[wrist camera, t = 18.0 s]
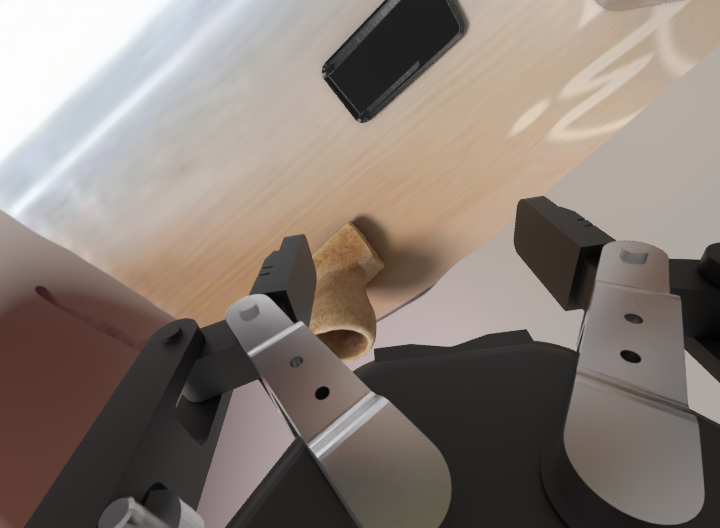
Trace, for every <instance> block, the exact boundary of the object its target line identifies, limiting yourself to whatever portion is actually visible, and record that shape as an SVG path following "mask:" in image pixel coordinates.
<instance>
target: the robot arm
mask: <svg viewBox="0 0 720 528" xmlns="http://www.w3.org/2000/svg"><path fill="white" fill-rule="evenodd" d="M596 1H597V3H598V4H600V5H601V6H602V7H603V8H606V9H609V10H611V11H623V10H629V9H635V8H640V7H646V6H653V5H659V4H665V3H670V2H676V1H682V0H596ZM514 245H515V249H516V252H517V253H518V255H519V256H520V257H521V258H522V260H523V261H524V262H525V263H526V264H527V266H528V267H529V268H530V269H531V270H532V272H533V273H534V274H535V275H536V276H537V278H538V279H539V280H540V281H541V282H542V284H543V285H544V286H545V287H546V288H547V290H548V291H549V292H550V293H551V294H552V296H553V297H554V298H555V299H556V301H557V302H558V303H559V304H560V305H561V307H562V308H563V309H564V310H565V311H569V310H576V309H583V310H584V311H585V312H584V315H583V319H582V323H581V327H580V331H579V335H578V339H577V343H576V348H575V351H574V350H571V349H569V348H566V347H562V346H560V345H556V344H551V343H547V342H540V341H533V339H532V337H531V336H530V334H529V333H528V331H527V330H526V329H525V330H518V331H509V332H501V333H495V334H487V335H484V336H482V337H479V338H476V339H473V340H470V341H467V342H465V343H462V344H459V345H456V346H453V347H441V346H428V345H415V344H409V345H401V346H393V347H385V348H377V349H374V355H375V360H374V361H372V362H369V363H367V364H365V365H363V366H361V367H359V368H357V369H356V370H354V371H353V372H352V371H351V370H350V369H349V368H348V367H347V366H346V365H345V364H344V363H343V362H342V361H341V360H340V359H339V358H338V357H337V356H336V355H335V354H334V353H333V352H332V351H331V350H330V349H329V348H328V347H327V346H326V345H325V344H324V343H323V342H322V341H321V340H320V339H319V338H318V337H317V336H316V335H315V334H314V333H313V332H312V331H311V330H310V329H309V326H310V320H311V314H312V308H313V302H314V296H315V291H316V285H317V274H316V269H315V265H314V262H313V258H312V255H311V252H310V248H309V245H308V242H307V239H306V237H305V235H304V234H301V235H295V236H289V237H285V238H284V239H283V242H282V245H281V247H280V250H279V251H273V252H272V253H271V254H270V255H269V256H268V257H267V258H266V259H265V261H264V263H263V265H262V267H261V268H262V269H261V270H260V272H259V274H258V275H259V276H257V279H256V281H255V283H254V285H253V288H252V290H251V292H250V294H249V296H247V297H244V298H242V299H240V300H238V301H237V302H235V303H234V304H233V305H232V306H231V307H230V308H229V309H228V310H227V312H226V314H225V320H223V321H220V322H217V323H215V324H212V325H209V326H206V327H203V328H201V329H200V328H199V326H198V324H197V323H196V321H195V320H193V319H189V318H185V319H179V320H176V321H173V322H171V323H169V324H167V325H165V326H163V327H162V328H160V329H159V330H157V331H156V333H154V334H153V335H152V336H151V337H150V339H149V340H148V342H147V343H146V345H145V346H144V348H143V349H142V351H141V352H140V354H139V355H138V357H137V358H136V360H135V361H134V363H133V364H132V366H131V367H130V369H129V370H128V372H127V373H126V375H125V376H124V378H123V379H122V381H121V382H120V384H119V385H118V387H117V388H116V390H115V391H114V393H113V394H112V396H111V397H110V399H109V400H108V402H107V403H106V405H105V406H104V408H103V409H102V411H101V412H100V414H99V416H98V417H97V418H96V420H95V421H94V423H93V424H92V426H91V427H90V429H89V431H88V432H87V433H86V435H85V436H84V438H83V439H82V441H81V442H80V444H79V445H78V447H77V448H76V450H75V452H74V453H73V454H72V456H71V457H70V459H69V461H68V462H67V464H66V465H65V466H64V468H63V469H62V471H61V473H60V474H59V475H58V477H57V479H56V480H55V482H54V483H53V485H52V486H51V488H50V489H49V491H48V492H47V494H46V495H45V497H44V498H43V500H42V501H41V503H40V504H39V506H38V508H37V509H36V510H35V512H34V513H33V515H32V516H31V518H30V519H29V521H28V522H27V524H26V525H25V527H24V528H205V526H204V522H203V519H202V518H201V516H200V515H198V513H196V510H197V507H198V504H199V501H200V497H201V494H202V491H203V487H204V484H205V481H206V477H207V474H208V471H209V468H210V465H211V461H212V458H213V455H214V451H215V448H216V445H217V441H218V438H219V435H220V432H221V428H222V425H223V422H224V418H225V415H226V412H227V409H228V405H229V402H230V399H231V396H232V392H233V389H235V388H237V387H240V386H242V385H245V384H247V383H250V382H252V381H255V380H257V379H258V380H259V382H260V383H261V385H262V387H263V388H264V390H265V392H266V393H267V395H268V396H269V398H270V400H271V401H272V403H273V405H274V406H275V408H276V409H277V411H278V413H279V414H280V416H281V418H282V419H283V421H284V422H285V424H286V426H287V428H288V430H289V431H290V433H291V435H292V436H293V438H294V442H292V444H291V445H290V446H289V447H288V449H287V450H286V451H285V453H284V454H283V455H282V456H281V458H280V459H279V460H278V461H277V463H276V464H275V465H274V466H273V468H272V469H271V470H270V471H269V473H268V474H267V475H266V476H265V478H264V479H263V480H262V482H261V483H260V484H259V485H258V486H257V488H256V489H255V490H254V491H253V493H252V494H251V495H250V497H249V498H248V499H247V500H246V502H245V503H244V504H243V505H242V507H241V508H240V509H239V511H238V512H237V513H236V514H235V516H234V517H233V518H232V519H231V521H230V522H229V523H228V524H227V526H226V527H225V528H720V424H718V423H716V422H714V421H712V420H710V419H708V418H706V417H704V416H702V415H700V414H698V413H696V412H695V411H693V410H691V409H689V407H688V398H687V384H686V367H685V354H684V349H685V350H686V351H687V352H688V353H689V354H690V355H691V356H692V357H693V358H695V359H696V360H697V361H698V362H699V363H700V364H701V365H702V366H703V367H704V368H705V369H706V370H707V371H708V372H709V373H710V374H711V375H712V376H713V377H714V378H715V379H716V380H717V381H719V383H720V243H715V244H711V245H709V246H708V247H707V248H706V250H705V252H704V254H703V256H702V258H701V260H690V259H669V258H668V255H667V254H666V253H665V252H664V251H663V250H661V249H659V248H657V247H655V246H653V245H650V244H646V243H643V242H637V241H625V240H624V241H616V240H615V239H613V238H612V237H610V236H609V235H607V234H606V233H605V232H603V231H602V230H600V229H599V228H597V227H596V226H593V224H592V223H590V222H589V221H587V220H585V219H584V218H583V217H582V216H580V215H579V214H577V213H576V212H574V211H571V210H569V209H566V208H563V207H558V206H557V205H556V204H554V203H553V202H551V201H550V200H549V199H547V198H546V197H544V196H539V197H533V198H527V199H521V200H520V201H519V202H518V205H517V213H516V222H515V232H514ZM181 393H182V394H183V395H182V397H181V399H180V401H179V403H178V406H177V408H176V403H177V400H178V398H179V396H180V394H181Z"/></svg>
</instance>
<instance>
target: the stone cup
mask: <svg viewBox="0 0 720 528" xmlns="http://www.w3.org/2000/svg"><path fill="white" fill-rule="evenodd" d="M312 258H313V262H314V265H315V269H316V274H317V285H316V291H315V296H314V302H313V308H312V314H311V320H310V326H309V329H310V330H311V331H312V332H313V333H314V334H315V335H316V336H317V337H318V338H319V339H320V340H321V341H322V342H323V343H324V344H325V345H326V346H327V347H328V348H329V349H330V350H331V351H332V352H333V353H334V354H335V355H336V356H337V357H338V358H339V359H340V360H341V361H342V362H350V361H354V360H357V359H359V358H360V357H362V356H364V355H365V354H366V353H367V352H368V351H369V350H370V349H371V348H372V346H373V344H374V342H375V338H376V317H375V313H374V310H373V308H372V306H371V304H370V301H369V299H368V296H367V293H366V291H365V288H364V286H365V285H366V284H367V283H368V282H369V281H370V280H371V279H372V278H373V277H374V276H375V275H376V274H377V273H379V272H380V271H381V270H382V269H383V268H384V264H383V262H382V261H381V260H380V259H379V257H378V255H377V253H376V252H375V251H374V249H373V248H372V246H371V244H370V243H369V242H368V241H367V240H366V238H365V236H364V235H363V233H361V232H360V230H359V229H358V228H357V227H356V226H354V225H353V223H351V222H349V223H347V224H345V225H344V226H343V227H342V228H341V229H340V230H339V231H338V232H336V233H335V234H334V235H333V236H332V237H331V238H330V239H329V240H328V241H327V242H326V243H325V244H324V245H323V246H322V247H321V248H320V249H319V250H318V251H317V252H316V253H315V254H314V255H313V256H312Z"/></svg>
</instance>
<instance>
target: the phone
mask: <svg viewBox="0 0 720 528" xmlns="http://www.w3.org/2000/svg"><path fill="white" fill-rule="evenodd" d="M463 32H464V22H463V19H462V18H461V16H460V14H459V12H458V10H457V8H456V6H455V4H454V2H453V0H385V1H384V2H383V3H382V4H381V5H380V6H379V7H378V8H377V9H376V10H375V11H374V12H373V13H372V14H371V15H370V17H369V18H368V19H367V20H366V21H365V22H364V23H363V24H362V25H361V26H360V27H359V28H358V29H357V30H356V31H355V32H354V33H353V34H352V35H351V36H350V37H349V38H348V40H347V41H346V42H345V43H344V44H343V45H342V46H341V47H340V48H339V49H338V50H337V51H336V52H335V53H334V54H333V55H332V56H331V57H330V58H329V59H328V60H327V61H326V62H325V64H324V65H323V68H322V75H323V78H324V80H325V81H326V82H327V84H328V85H329V86H330V87H331V89H332V90H333V91H334V93H335V94H336V95H337V96H338V98H339V99H340V100H341V102H342V103H343V104H344V105H345V107H346V108H347V109H348V111H349V112H350V113H351V114H352V116H353V117H354V118H355V119H356V120H357V121H358V122H360V123H365V122H367V121H369V120H370V119H371V118H372V117H373V116H375V115H376V114H377V113H378V112H379V111H380V110H381V109H383V108H384V107H385V106H386V105H387V104H388V103H389V102H391V101H392V100H393V99H394V98H395V96H396V95H398V94H399V93H400V92H401V91H402V90H403V89H404V88H405V87H406V86H408V85H409V84H410V83H411V82H412V81H413V80H414V79H415V78H416V77H418V76H419V75H420V74H421V73H422V72H423V71H424V70H425V69H426V68H428V67H429V66H430V65H431V64H432V63H433V62H434V61H435V60H436V59H438V58H439V57H440V56H441V55H442V54H443V53H444V52H445V51H446V50H447V49H449V48H450V47H451V46H452V45H453V44H454V43H455V42H456V41H457V40H459V39H460V37H461V36H462V34H463Z"/></svg>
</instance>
